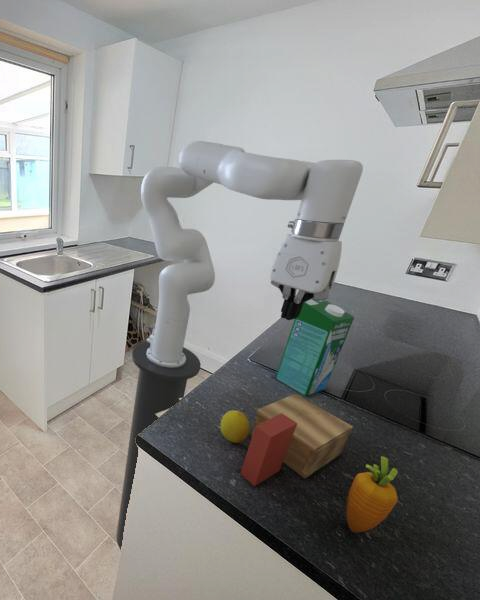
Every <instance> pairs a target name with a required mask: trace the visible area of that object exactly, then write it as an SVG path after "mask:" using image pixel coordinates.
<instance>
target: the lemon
mask: <svg viewBox="0 0 480 600" xmlns="http://www.w3.org/2000/svg"><path fill="white" fill-rule="evenodd" d="M219 425H220V427H219V429H220V431H221V432H220V433H221V434H222V436H223V437H224V438H225V439H226V440H227V441H229V442H230V443H234V444H238V443H241V442H243V441H245V440H246V439H247V437H248V436H249V434H250V422H249V419H248V417H247V416H246V415H245V414H244V412H241V411H239V410H228V411H227V412H226V413H225V414H223V416H222V418H221V419H220V424H219Z"/></svg>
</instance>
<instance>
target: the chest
mask: <svg viewBox="0 0 480 600" xmlns="http://www.w3.org/2000/svg"><path fill="white" fill-rule="evenodd" d="M266 420H267V419H265V418H264V417H262V416H261V415H259V414H258V413H257V415H256V418H255V421H254V424H253V429H252V430H251V431H252V432H251V434H250V438H251V439H252V436H253V432H254V429H255V426H256V425H258V424H260V423H262V422H264V421H266ZM351 433H352V430H350V431H348V432H347V433H345V434H343V435H342V436H340V437H339V438H337V439H335V440H334V441H332V442H330V443H329V444H327V445H325V446H324V447H322V448H320V449H319V450H317V451H315V452H313V451H312V450H310V449H309V448H307V447H306V446H304V445H303V444H302V443H300V442H299V441H297V440H296V439H294V438H293V437H292V439H291V442H290V444H289V447H288V450H287V452H286V455H285V458H284V460H283V464H285V465H286V466H288V467H289V468H290V469H291V470H293V471H294V472H296V474H298V475H299V476H300V477H302V478H303V479H307V478H308V477H309V476H311V475H312V474H314V473H315V472H317V471H318V470H320V469H321V468H322V467H324V466H326V465H327V464H329V463H330V462H332V461H333V460H334V459H336V458H337V457H339V456H340V455H341V454H342V452H343V449H344V447H345V445H346V443H347V441H348V439H349V436H350V434H351Z"/></svg>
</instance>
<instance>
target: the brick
mask: <svg viewBox="0 0 480 600" xmlns="http://www.w3.org/2000/svg"><path fill="white" fill-rule="evenodd" d="M296 426H297V423H296V422H295V421H293V420H292V419H290V418H288V417H287V416H285V415H284V414H282V413H281V414H279V415H277V416H275V417H273V418H271V419H269V420H266V421H264V422H262V423H260V424H258V425H256V426H255V429H254V432H253V436H252V438H251V439H250V441H249V445H248V449H247V451H246V454H245V458H244V461H243V464H242V466H241V470H240V473H239V474H240V475H241V476H242V477H243V478H245V479H246V481H248V482H249V483H250V484H251V485H252V487H257V485H259V484H260V483H262V482H263V481H265V480H267V479H268V478H270V477H272V476H273V475H275V474H277V473H279V472H280V470H281V468H282V466H283V464H284V462H283V460H284V458H285V455H286V452H287V450H288V447H289V444H290V442H291V439H292V437H293V434H294V431H295V429H296Z"/></svg>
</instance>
